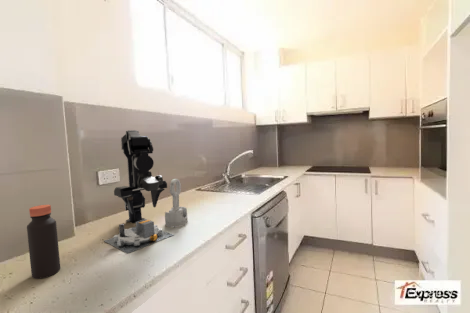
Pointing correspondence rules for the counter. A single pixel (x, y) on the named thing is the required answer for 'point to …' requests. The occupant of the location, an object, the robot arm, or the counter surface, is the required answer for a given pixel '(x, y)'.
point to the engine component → (176, 208)
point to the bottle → (43, 242)
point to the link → (145, 228)
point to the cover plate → (133, 248)
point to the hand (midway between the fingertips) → (143, 210)
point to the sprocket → (134, 236)
